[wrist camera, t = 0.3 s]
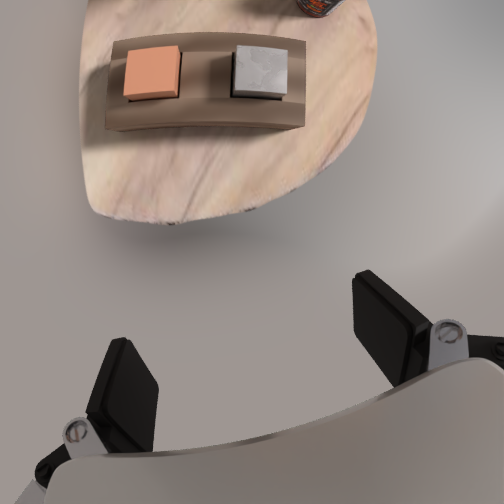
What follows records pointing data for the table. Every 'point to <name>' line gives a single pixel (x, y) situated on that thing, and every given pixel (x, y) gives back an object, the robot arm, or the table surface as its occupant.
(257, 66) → the metal button
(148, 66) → the terracotta button
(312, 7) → the supplement bottle
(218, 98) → the button console
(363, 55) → the table surface
